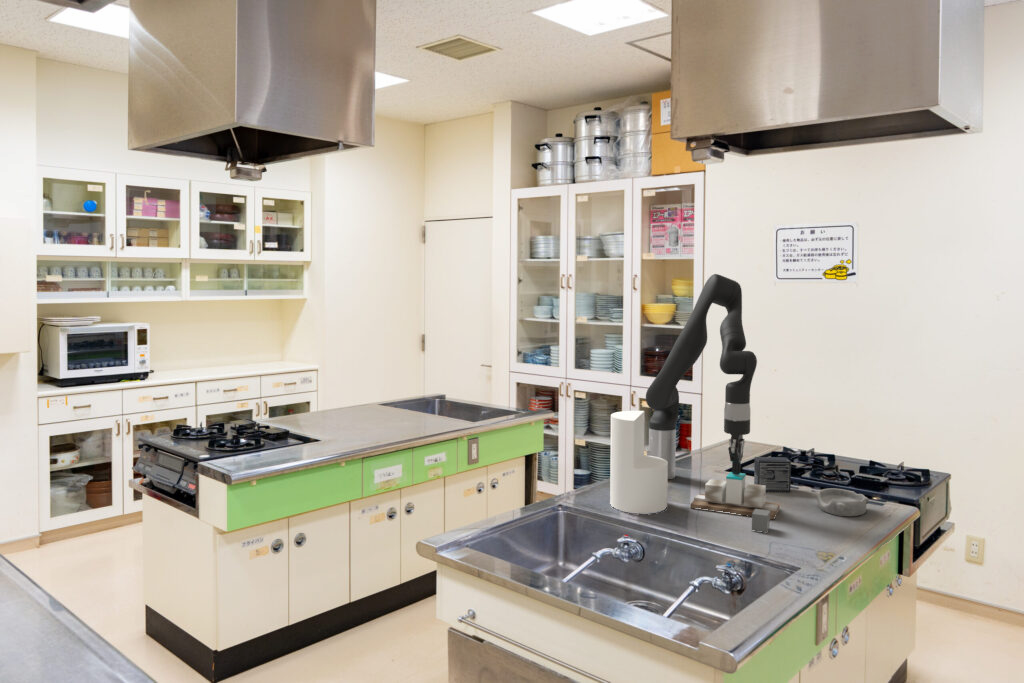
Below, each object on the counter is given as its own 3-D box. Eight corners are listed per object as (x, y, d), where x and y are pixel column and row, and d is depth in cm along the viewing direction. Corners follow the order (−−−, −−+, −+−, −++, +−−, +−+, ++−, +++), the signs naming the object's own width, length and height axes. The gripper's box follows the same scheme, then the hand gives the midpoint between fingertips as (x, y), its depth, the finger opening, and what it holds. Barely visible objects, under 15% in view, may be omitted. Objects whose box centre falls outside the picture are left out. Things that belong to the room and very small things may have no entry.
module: (725, 502, 226) (726, 476, 225) (729, 497, 231) (730, 471, 231) (741, 504, 224) (741, 478, 223) (744, 499, 229) (745, 473, 228)
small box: (786, 487, 250) (786, 456, 249) (791, 493, 244) (792, 461, 243) (753, 486, 251) (754, 456, 250) (757, 492, 245) (758, 460, 244)
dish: (845, 520, 216) (846, 503, 216) (806, 507, 229) (807, 491, 228) (878, 513, 223) (879, 496, 223) (839, 501, 235) (839, 485, 235)
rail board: (690, 508, 228) (690, 485, 227) (699, 498, 238) (700, 475, 238) (773, 520, 217) (774, 495, 216) (779, 508, 227) (780, 484, 227)
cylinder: (604, 511, 226) (605, 419, 223) (616, 495, 242) (617, 409, 240) (662, 517, 220) (663, 422, 218) (671, 500, 236) (672, 412, 234)
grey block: (751, 531, 208) (752, 513, 207) (754, 526, 212) (755, 508, 212) (766, 533, 206) (767, 515, 205) (769, 528, 210) (770, 510, 210)
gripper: (728, 412, 233) (727, 467, 234) (719, 420, 221) (719, 477, 223) (753, 414, 229) (752, 470, 231) (746, 422, 218) (745, 480, 219)
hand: (736, 473), depth 227 cm, fingers closed
